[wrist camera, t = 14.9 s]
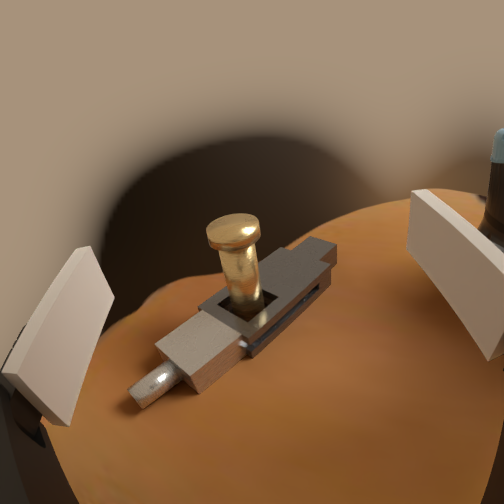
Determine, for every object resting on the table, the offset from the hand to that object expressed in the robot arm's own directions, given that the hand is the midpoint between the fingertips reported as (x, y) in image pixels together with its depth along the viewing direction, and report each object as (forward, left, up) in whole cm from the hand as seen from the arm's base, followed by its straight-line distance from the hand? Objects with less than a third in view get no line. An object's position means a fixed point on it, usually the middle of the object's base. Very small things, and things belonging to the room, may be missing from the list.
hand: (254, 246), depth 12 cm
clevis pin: (-12, -16, -22) cm, 30 cm away
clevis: (-12, -16, -22) cm, 30 cm away
